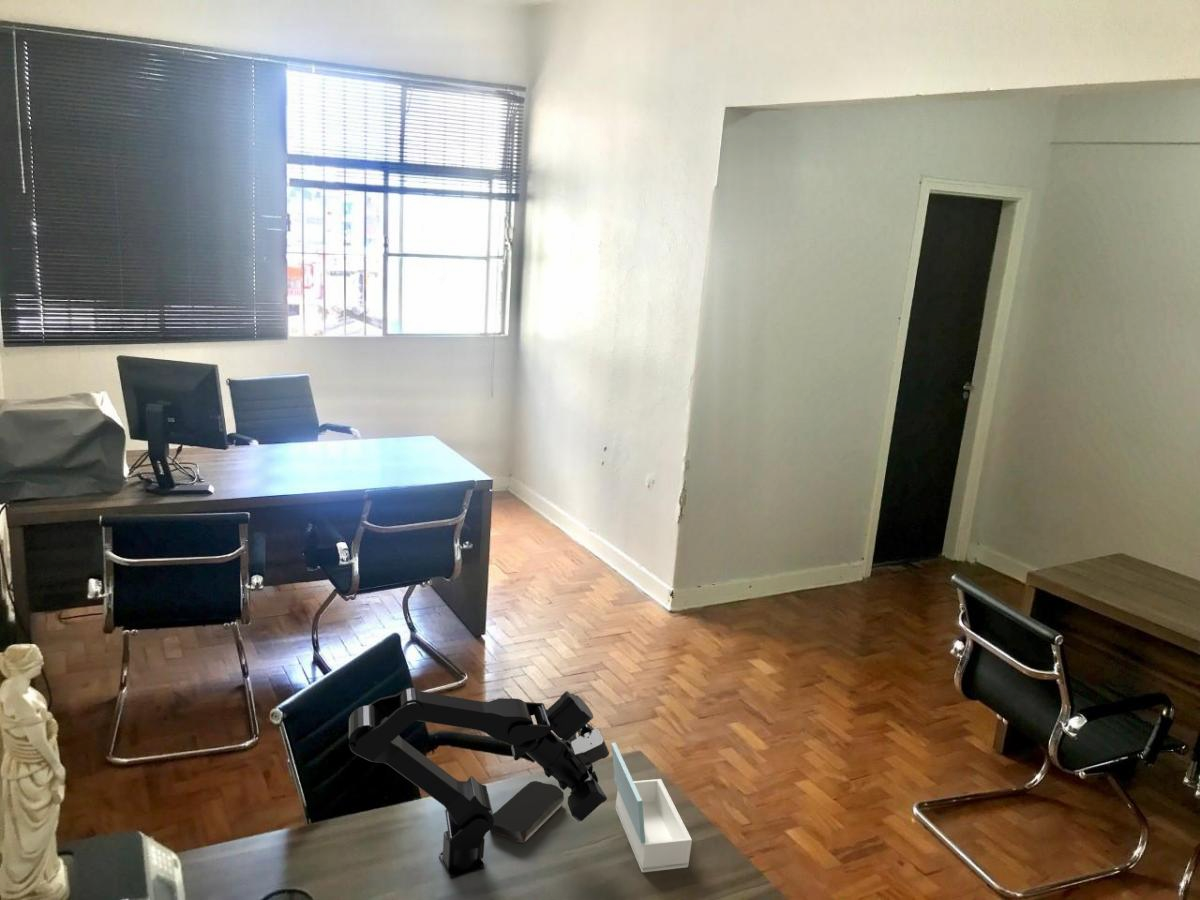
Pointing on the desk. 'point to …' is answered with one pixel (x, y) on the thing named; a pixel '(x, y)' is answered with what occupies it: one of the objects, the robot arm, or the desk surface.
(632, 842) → the white lidded box
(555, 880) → the desk surface
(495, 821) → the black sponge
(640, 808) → the cover
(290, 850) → the desk surface
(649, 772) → the desk surface
